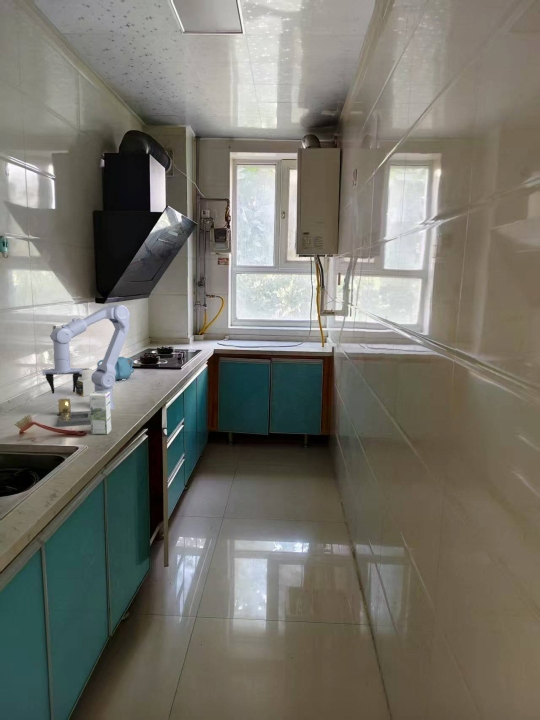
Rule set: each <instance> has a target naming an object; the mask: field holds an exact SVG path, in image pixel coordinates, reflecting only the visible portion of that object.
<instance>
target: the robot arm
mask: <svg viewBox="0 0 540 720" xmlns="http://www.w3.org/2000/svg"><path fill="white" fill-rule="evenodd" d="M130 316H131V313H130V311H129V309H128V307H126V306H125V305H122V304H121V305H117V304H108V305H107V306H106V305H105V306H103V307H102V308H100V309H98V310H96V311H95V312H93V313H92V314H90V315H88V316H86V317H85V318H83V319H81V318H79V317H78V318H72V319H71V320H72V321H70V322H68V323H67V324H61V327H56V328H54V329H53V330H52V331H51V332H50V333H51V334H50V335H49V337H50V339H51V341H52V342H53V343H52V344H53V359H54V360H53V364H54V368H52V369H42V371H41V372H42V376H43V377H44V376H45V380H46V381H47V383H48V384H49V387H50V389H51V393H52V394H55V383H54V382H55V381H54V376H55V375H56V376H58V375H72V386H73V387H72V393H76V383H77V380H78V379H80V378H79V375H80V374H82V369H83V368H73V367H72V368H71V357H70V356H71V355H70V354H71V353H70V341H72V339H73V338H75V337H76V336H78V335H81V334H82V333H85V332H86V331H87V328H88V327H90V326H91V325H93V324H95V323H98V322H100V321H102V320H104V319H106V320H107V319H108V320H109V321H110V322H111V323H112V325H113V327H114V331H113V333H112V334H113V335H112V336H111V339H110V342H109V344H108V347H107V349H106V352H105V354H104V356H103V359H102V360H103V362H101V363H100V364H99V366H97V367H96V370H95V371H94V372H92V377H91V379H92V382H93V383H94V384H95V392H110V411H111V410H115V402H114V392H113V391H114V388H113V387H114V386H115V383H116V380H115V375H116V370H115V365H116V363H117V360H118V357H120V354H121V353H122V352H121V351H122V350H123V347H124V344H125V342H126V339H127V336H128V334H129V331H130Z"/></svg>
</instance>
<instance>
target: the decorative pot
mask: <svg viewBox="0 0 540 720" xmlns="http://www.w3.org/2000/svg"><path fill="white" fill-rule="evenodd" d="M128 360H129V361H130V363H129V361H128ZM102 362H103V359H100V360H98V362H97V364H96V365H97V367H98V366H99V365H100V364H101V363H102ZM133 365H134V360H133V359H132V358H130V357H124V356H119V357H118V360H117V363H116V365H115V370H116V375H115V381H117V380H121V379H126V380H127V379H129V378H130V377H131V375H132V374H133V373H134V372H135V369H134V368H133Z"/></svg>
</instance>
